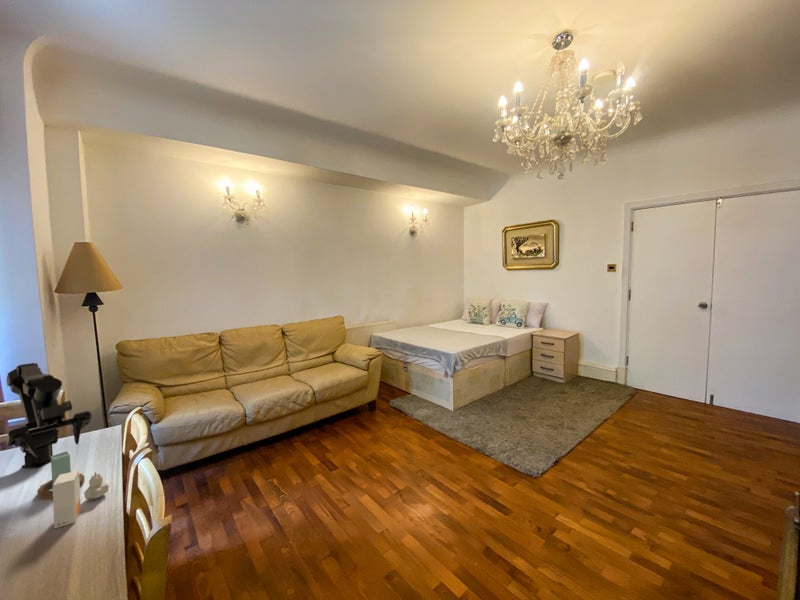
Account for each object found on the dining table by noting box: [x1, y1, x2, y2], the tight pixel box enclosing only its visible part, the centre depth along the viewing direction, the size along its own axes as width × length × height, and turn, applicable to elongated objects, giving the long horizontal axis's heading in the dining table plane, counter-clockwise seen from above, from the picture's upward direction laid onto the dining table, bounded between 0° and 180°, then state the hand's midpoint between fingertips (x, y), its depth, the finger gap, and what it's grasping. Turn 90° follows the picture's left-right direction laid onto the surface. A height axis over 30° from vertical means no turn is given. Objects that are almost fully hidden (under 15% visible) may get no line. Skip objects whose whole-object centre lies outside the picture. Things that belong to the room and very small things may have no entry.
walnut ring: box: [36, 473, 85, 500], centre depth 104 cm, size 10×10×2 cm
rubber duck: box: [83, 471, 109, 500], centre depth 99 cm, size 5×7×8 cm
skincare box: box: [52, 470, 82, 529], centre depth 90 cm, size 6×4×12 cm
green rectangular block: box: [50, 450, 72, 488], centre depth 104 cm, size 4×4×11 cm
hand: (57, 449), depth 105 cm, fingers open, 9 cm apart
